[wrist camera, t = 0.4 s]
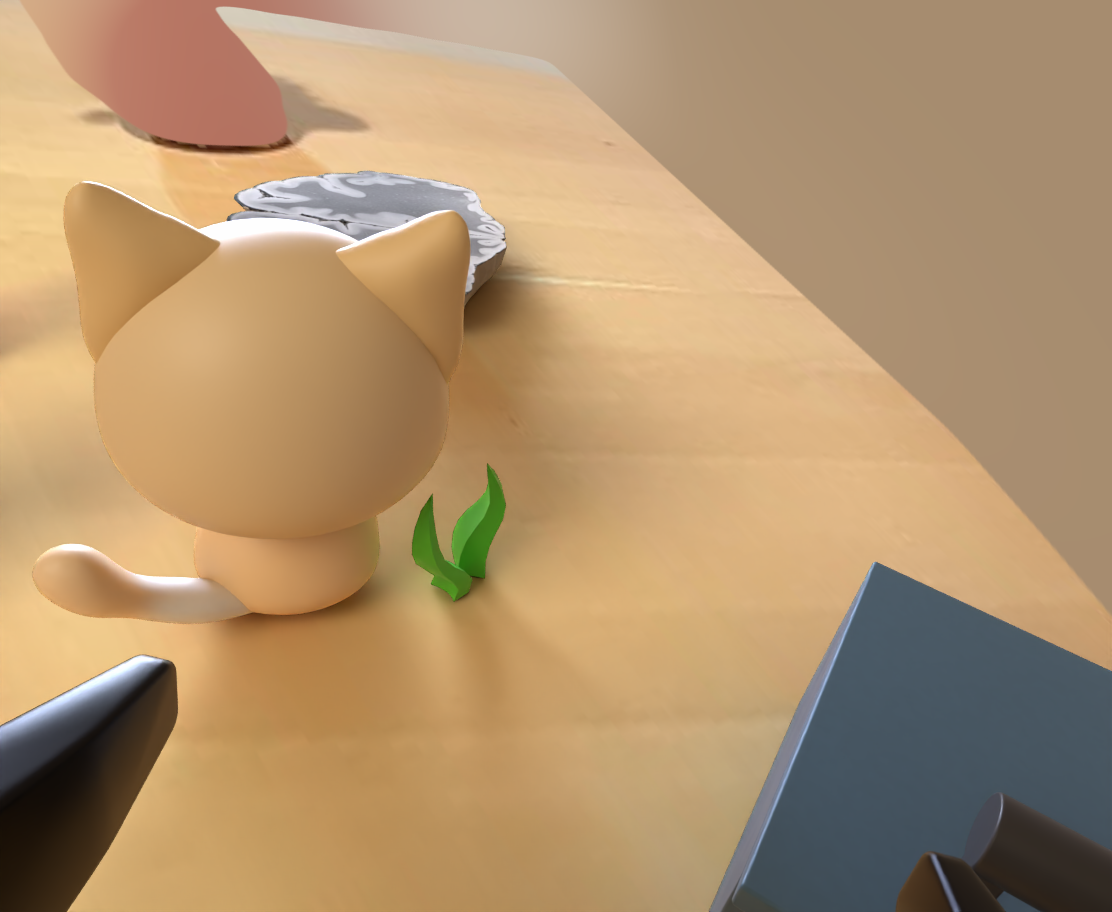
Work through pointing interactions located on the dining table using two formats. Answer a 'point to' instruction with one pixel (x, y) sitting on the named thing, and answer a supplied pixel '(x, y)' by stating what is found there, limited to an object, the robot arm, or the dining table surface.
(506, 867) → the dining table surface
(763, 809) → the cooler
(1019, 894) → the lid
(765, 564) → the dining table surface
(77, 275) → the beige cat figurine
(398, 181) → the grey flat stone slab
